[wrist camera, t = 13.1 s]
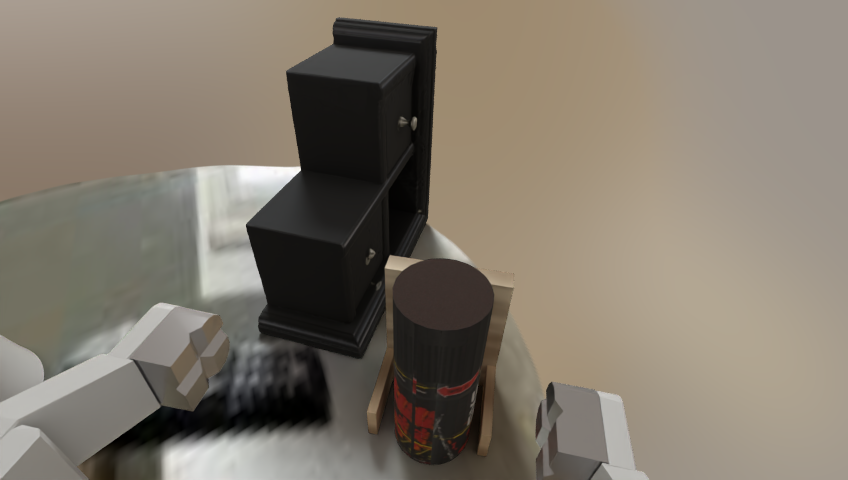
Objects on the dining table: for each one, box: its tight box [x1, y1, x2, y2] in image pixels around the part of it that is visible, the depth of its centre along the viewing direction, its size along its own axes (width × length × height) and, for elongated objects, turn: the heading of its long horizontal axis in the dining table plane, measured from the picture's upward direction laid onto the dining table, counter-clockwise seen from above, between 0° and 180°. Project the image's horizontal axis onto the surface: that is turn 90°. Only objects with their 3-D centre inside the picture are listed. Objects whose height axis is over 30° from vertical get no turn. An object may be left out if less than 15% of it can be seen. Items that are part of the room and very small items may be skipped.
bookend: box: [246, 17, 437, 358], centre depth 42 cm, size 23×11×24 cm, turn 164°
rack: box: [367, 255, 514, 456], centre depth 32 cm, size 8×9×12 cm
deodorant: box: [393, 258, 494, 465], centre depth 30 cm, size 6×6×15 cm
